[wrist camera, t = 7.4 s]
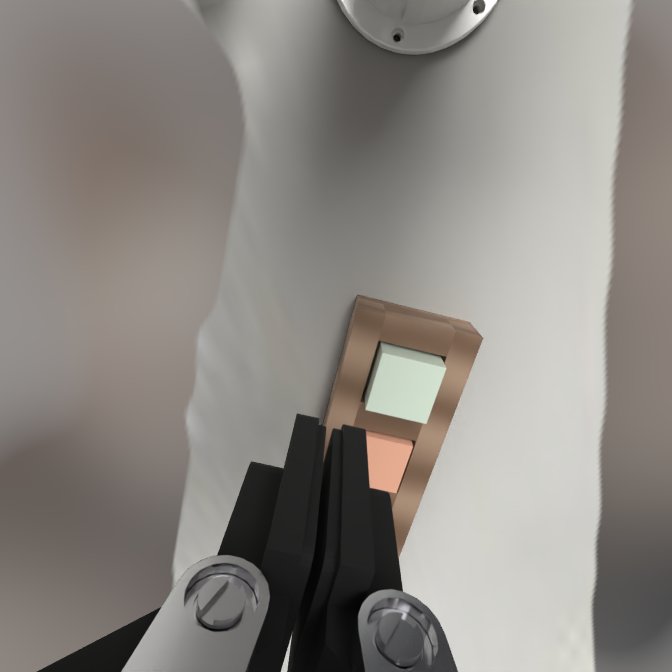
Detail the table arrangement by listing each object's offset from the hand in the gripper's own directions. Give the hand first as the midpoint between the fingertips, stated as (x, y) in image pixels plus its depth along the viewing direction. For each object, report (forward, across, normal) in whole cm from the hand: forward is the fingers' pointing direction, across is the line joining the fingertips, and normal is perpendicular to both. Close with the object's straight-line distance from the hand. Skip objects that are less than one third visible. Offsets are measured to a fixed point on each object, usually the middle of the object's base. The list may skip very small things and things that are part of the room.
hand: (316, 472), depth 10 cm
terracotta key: (+26, -7, +15) cm, 31 cm away
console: (+27, -7, +18) cm, 33 cm away
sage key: (+25, -7, +7) cm, 27 cm away
